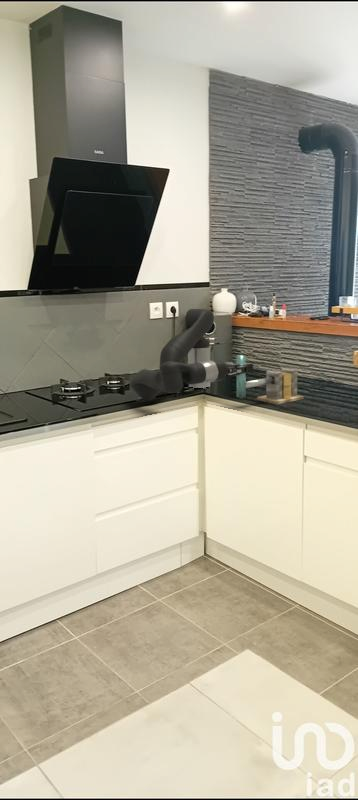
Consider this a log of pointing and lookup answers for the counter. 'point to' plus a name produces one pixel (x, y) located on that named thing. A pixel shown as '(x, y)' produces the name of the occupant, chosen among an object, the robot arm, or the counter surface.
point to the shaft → (244, 384)
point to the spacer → (286, 384)
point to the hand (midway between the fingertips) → (247, 365)
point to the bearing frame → (280, 388)
